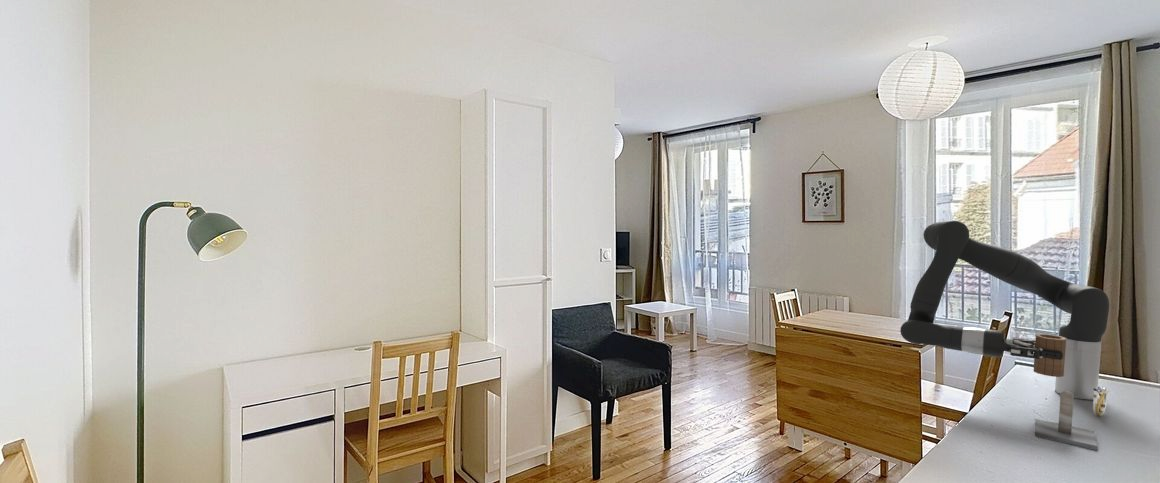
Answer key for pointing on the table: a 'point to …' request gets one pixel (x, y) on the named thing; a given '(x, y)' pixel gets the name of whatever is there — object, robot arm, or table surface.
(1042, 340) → the wooden slatted cup
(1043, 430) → the grey post stand
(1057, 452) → the table surface
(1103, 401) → the ring
